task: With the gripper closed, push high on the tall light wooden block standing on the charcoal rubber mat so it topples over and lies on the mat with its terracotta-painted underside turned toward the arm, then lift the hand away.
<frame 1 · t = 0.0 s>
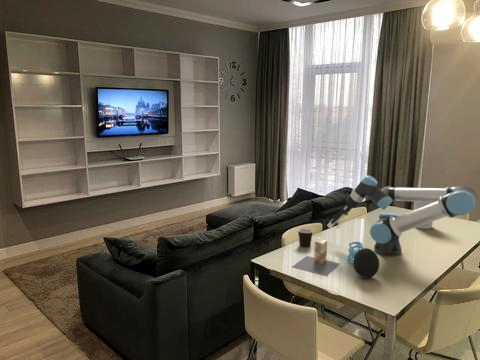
hand: (333, 223, 232), 15 cm above the table, tool tilted 35°, fingers open, 13 cm apart
coffee mug: (306, 245, 240), on the table
chair: (355, 263, 213), on the table
cylinder vase: (422, 226, 274), on the table
wood block: (320, 261, 214), point 1 cm above the table, touching mat
mat: (316, 266, 209), on the table
decorative egg: (365, 277, 196), on the table
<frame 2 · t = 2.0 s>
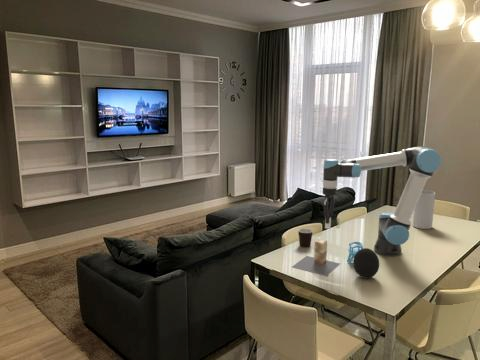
hand: (327, 228, 218), 17 cm above the table, tool pointing down, fingers closed
nothing on the table moved.
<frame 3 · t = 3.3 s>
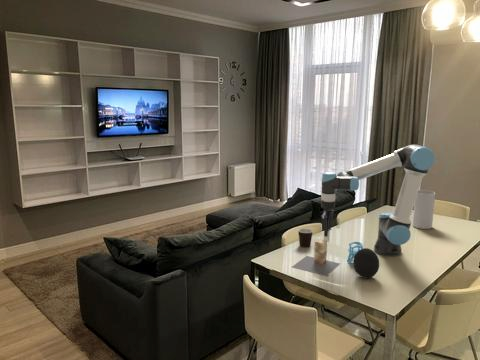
hand: (326, 241, 219), 10 cm above the table, tool pointing down, fingers closed
nothing on the table moved.
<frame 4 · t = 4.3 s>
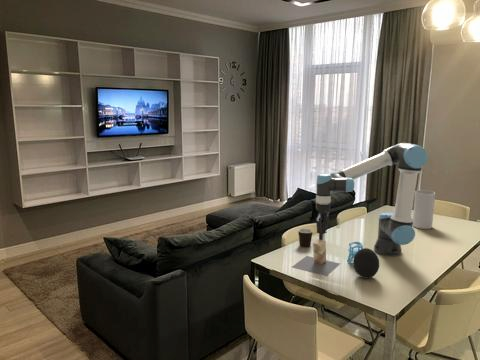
hand: (321, 244, 213), 10 cm above the table, tool pointing down, fingers closed
wood block: (320, 261, 213), point 1 cm above the table, tilted 11°, touching mat
everything else where it was.
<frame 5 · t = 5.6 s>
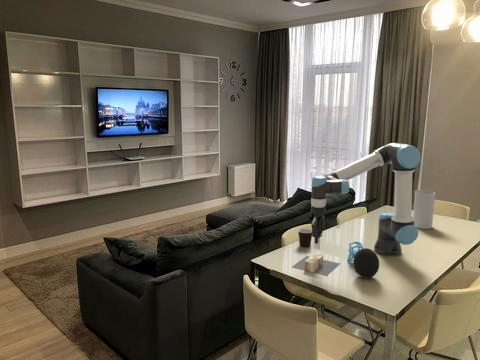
hand: (317, 248, 208), 10 cm above the table, tool pointing down, fingers closed
wood block: (318, 259, 211), point 3 cm above the table, tilted 90°, touching mat
everything else where it was.
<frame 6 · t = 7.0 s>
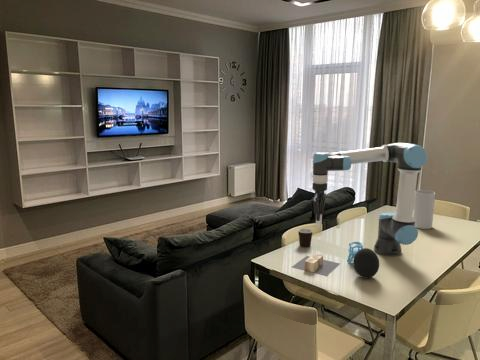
hand: (318, 226, 206), 22 cm above the table, tool pointing down, fingers closed
nothing on the table moved.
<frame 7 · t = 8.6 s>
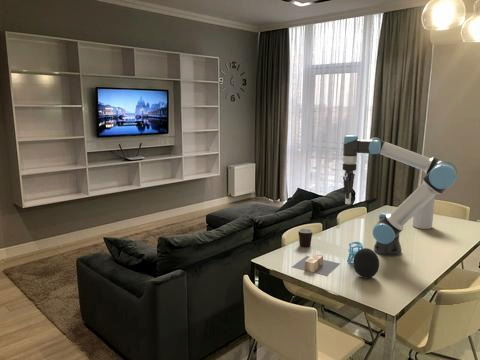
hand: (347, 203, 223), 29 cm above the table, tool pointing down, fingers closed
nothing on the table moved.
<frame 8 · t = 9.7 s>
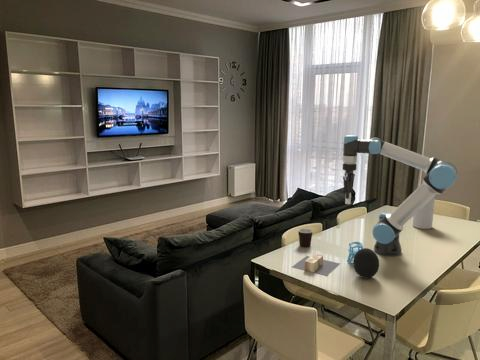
hand: (347, 203, 223), 29 cm above the table, tool pointing down, fingers closed
nothing on the table moved.
at the end: wood block tilted 90°; wood block inside the target area (3.0 cm from its centre), point 3.1 cm above the table; wood block touching mat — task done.
